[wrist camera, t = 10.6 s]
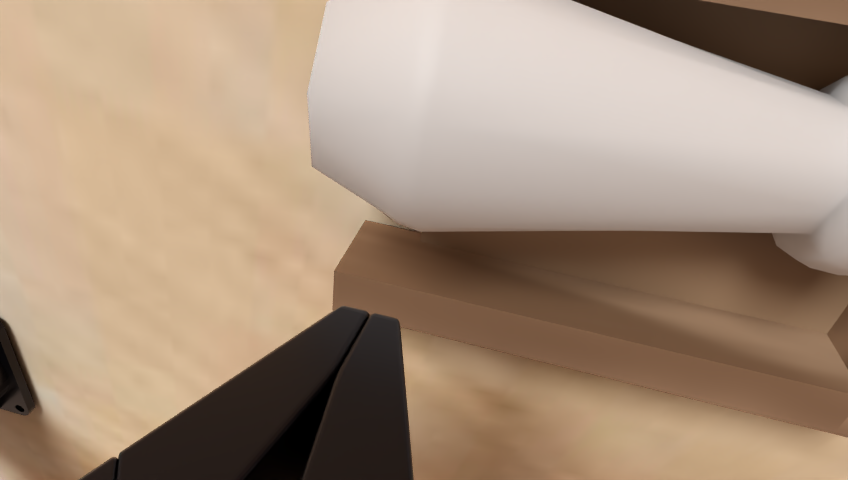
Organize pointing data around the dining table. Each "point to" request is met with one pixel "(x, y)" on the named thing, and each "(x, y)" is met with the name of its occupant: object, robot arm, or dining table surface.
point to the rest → (645, 263)
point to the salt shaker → (571, 126)
